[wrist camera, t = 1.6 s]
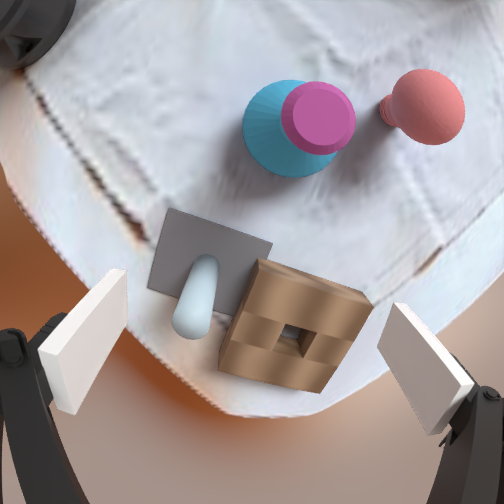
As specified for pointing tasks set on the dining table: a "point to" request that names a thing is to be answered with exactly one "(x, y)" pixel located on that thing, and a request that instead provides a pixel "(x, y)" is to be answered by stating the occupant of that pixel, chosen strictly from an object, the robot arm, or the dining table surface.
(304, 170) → the perfume bottle
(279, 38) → the dining table surface
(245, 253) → the mat
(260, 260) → the hole block
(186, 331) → the peg
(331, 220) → the dining table surface
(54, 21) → the robot arm
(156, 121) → the dining table surface
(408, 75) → the light bulb
